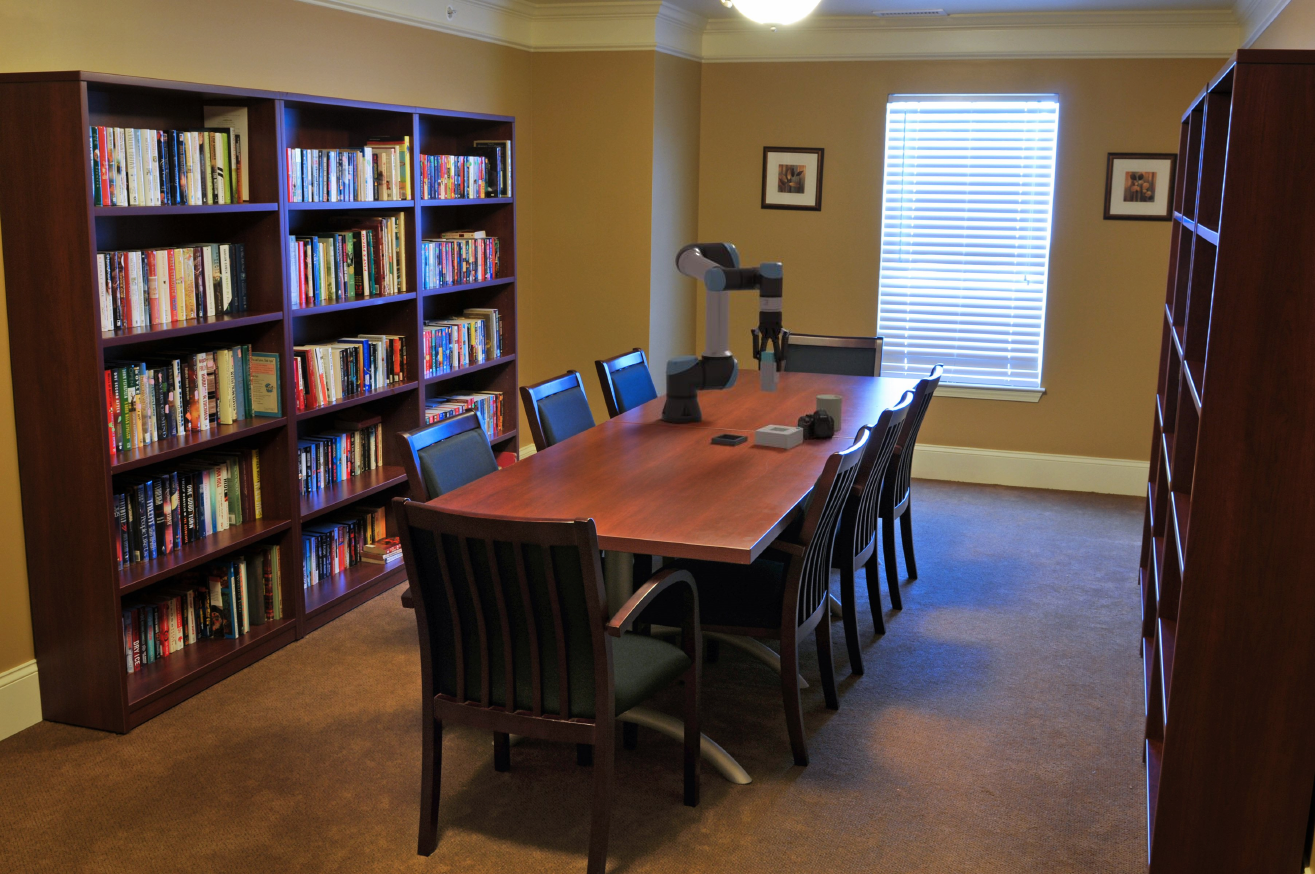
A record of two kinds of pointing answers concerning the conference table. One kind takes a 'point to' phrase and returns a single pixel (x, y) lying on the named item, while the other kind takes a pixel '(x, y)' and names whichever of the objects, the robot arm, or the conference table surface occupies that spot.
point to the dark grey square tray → (729, 439)
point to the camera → (817, 425)
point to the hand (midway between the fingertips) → (769, 381)
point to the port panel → (779, 436)
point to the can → (831, 407)
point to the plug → (767, 372)
